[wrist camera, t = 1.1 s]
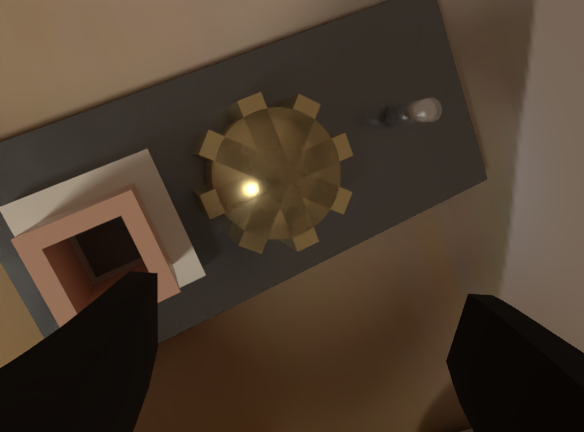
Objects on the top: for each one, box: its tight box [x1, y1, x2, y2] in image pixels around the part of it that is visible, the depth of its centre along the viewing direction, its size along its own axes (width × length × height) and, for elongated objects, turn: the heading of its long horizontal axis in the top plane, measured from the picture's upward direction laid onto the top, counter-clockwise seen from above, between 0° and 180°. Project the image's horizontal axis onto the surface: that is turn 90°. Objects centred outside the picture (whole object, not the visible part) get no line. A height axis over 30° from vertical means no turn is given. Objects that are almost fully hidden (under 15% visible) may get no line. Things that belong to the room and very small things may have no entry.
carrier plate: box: [0, 0, 487, 344], centre depth 20 cm, size 22×10×4 cm, turn 112°
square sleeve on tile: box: [0, 149, 206, 327], centre depth 17 cm, size 6×6×5 cm
